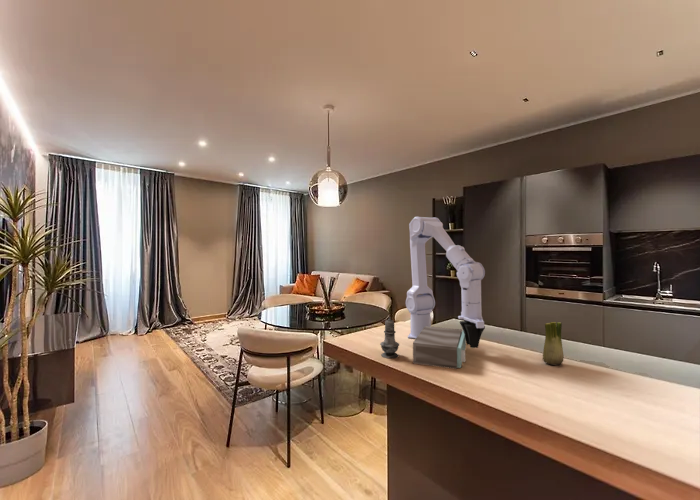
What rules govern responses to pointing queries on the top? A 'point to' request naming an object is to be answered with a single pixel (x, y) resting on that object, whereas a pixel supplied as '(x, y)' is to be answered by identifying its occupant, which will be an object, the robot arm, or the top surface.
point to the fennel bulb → (553, 344)
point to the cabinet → (437, 347)
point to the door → (461, 350)
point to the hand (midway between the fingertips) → (472, 346)
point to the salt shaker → (389, 341)
